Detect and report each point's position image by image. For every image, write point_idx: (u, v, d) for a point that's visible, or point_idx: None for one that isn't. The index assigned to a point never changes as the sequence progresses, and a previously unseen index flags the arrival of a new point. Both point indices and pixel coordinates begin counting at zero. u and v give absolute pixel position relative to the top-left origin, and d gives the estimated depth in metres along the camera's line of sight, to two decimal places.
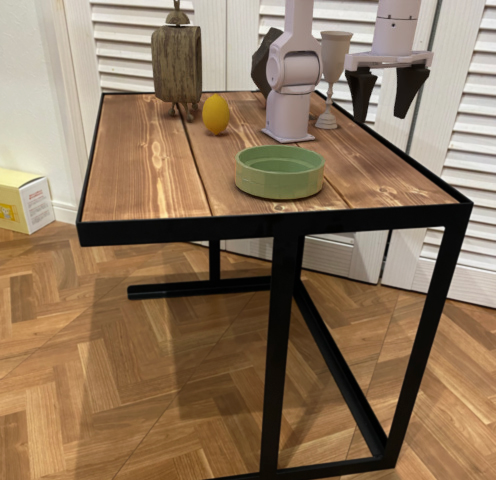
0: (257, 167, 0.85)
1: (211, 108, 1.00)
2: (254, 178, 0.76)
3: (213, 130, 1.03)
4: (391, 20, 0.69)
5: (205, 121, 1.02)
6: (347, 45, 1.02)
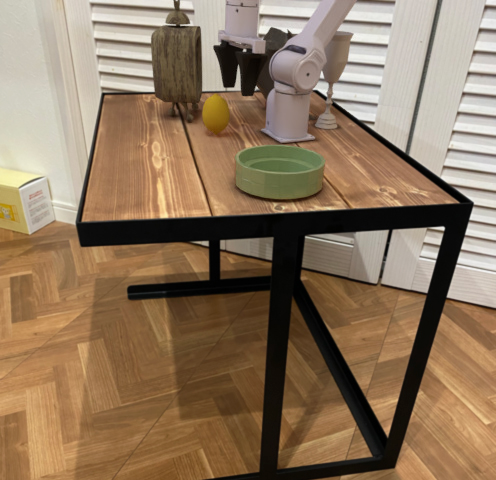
0: (257, 167, 0.85)
1: (211, 108, 1.00)
2: (254, 178, 0.76)
3: (213, 130, 1.03)
4: None
5: (205, 121, 1.02)
6: (347, 45, 1.02)
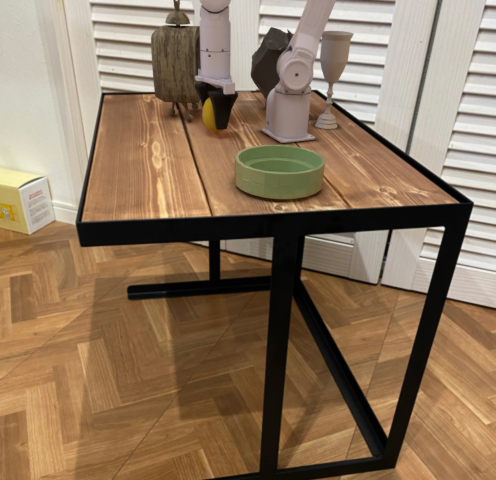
0: (257, 167, 0.85)
1: (211, 108, 1.00)
2: (254, 178, 0.76)
3: (213, 130, 1.03)
4: (202, 49, 0.97)
5: (205, 121, 1.02)
6: (347, 45, 1.02)
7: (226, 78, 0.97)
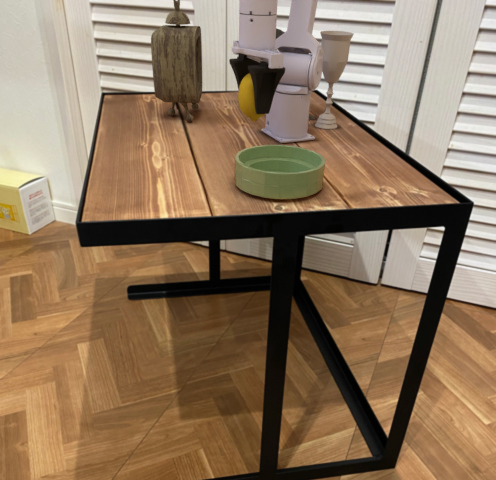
0: (257, 167, 0.85)
1: (250, 88, 0.81)
2: (254, 178, 0.76)
3: (251, 115, 0.84)
4: (241, 14, 0.78)
5: (242, 104, 0.83)
6: (347, 45, 1.02)
7: (271, 49, 0.78)
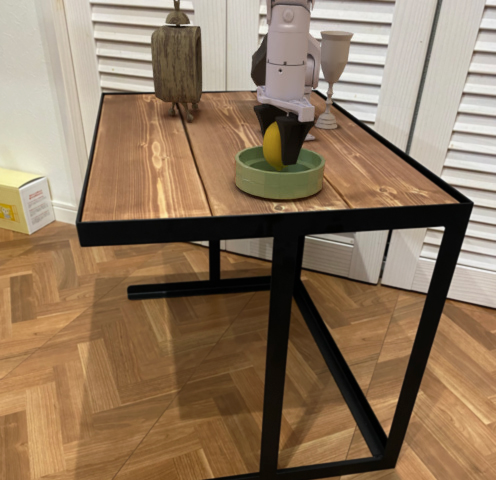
0: (257, 167, 0.85)
1: (276, 138, 0.76)
2: (254, 178, 0.76)
3: (277, 165, 0.79)
4: (268, 61, 0.73)
5: (267, 154, 0.78)
6: (347, 45, 1.02)
7: (300, 99, 0.73)
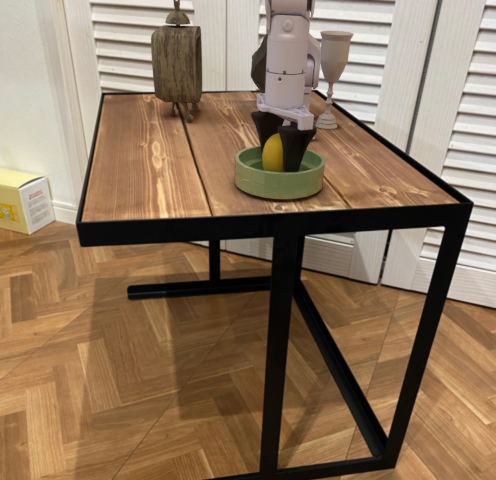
0: (257, 167, 0.85)
1: (275, 151, 0.77)
2: (254, 178, 0.76)
3: None
4: None
5: (266, 166, 0.79)
6: (347, 45, 1.02)
7: (299, 107, 0.74)
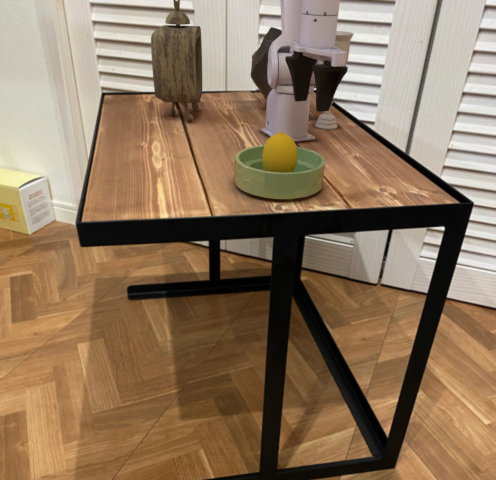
0: (257, 167, 0.85)
1: (275, 151, 0.77)
2: (254, 178, 0.76)
3: None
4: (303, 14, 0.82)
5: (266, 166, 0.79)
6: (347, 45, 1.02)
7: (331, 48, 0.82)
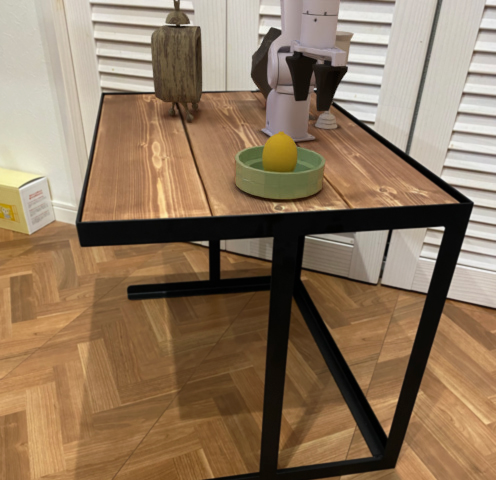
0: (257, 167, 0.85)
1: (275, 151, 0.77)
2: (254, 178, 0.76)
3: None
4: (303, 14, 0.82)
5: (266, 166, 0.79)
6: (347, 45, 1.02)
7: (332, 48, 0.82)
